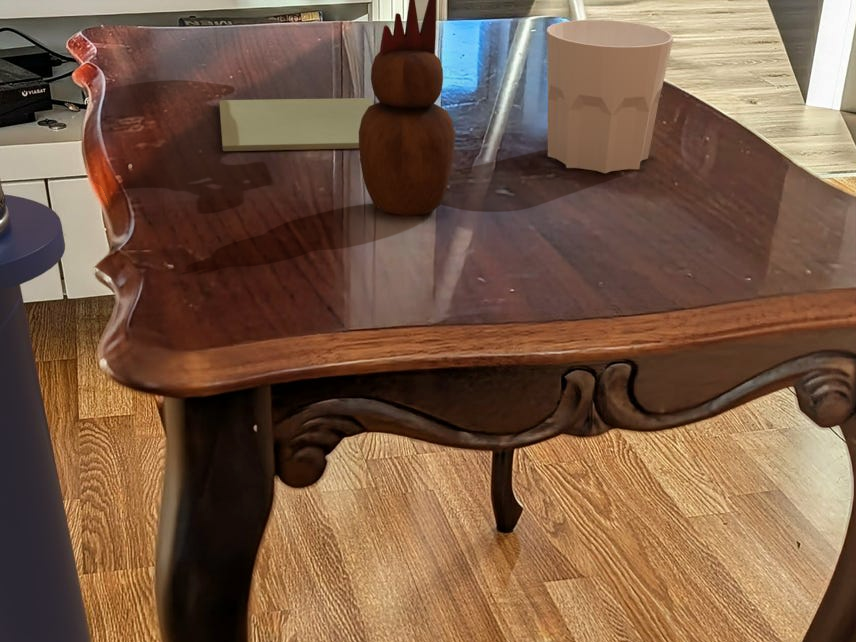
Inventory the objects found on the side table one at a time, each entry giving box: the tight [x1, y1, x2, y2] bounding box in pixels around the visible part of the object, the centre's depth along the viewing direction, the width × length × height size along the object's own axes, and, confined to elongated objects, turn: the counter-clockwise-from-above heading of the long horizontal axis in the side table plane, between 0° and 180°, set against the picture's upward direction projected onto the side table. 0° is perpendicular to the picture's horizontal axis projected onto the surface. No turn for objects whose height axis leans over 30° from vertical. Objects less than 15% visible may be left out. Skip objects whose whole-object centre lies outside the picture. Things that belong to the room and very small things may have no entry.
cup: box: [546, 19, 674, 174], centre depth 94 cm, size 10×10×10 cm
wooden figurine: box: [358, 0, 456, 217], centre depth 81 cm, size 7×6×15 cm
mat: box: [218, 97, 375, 152], centre depth 101 cm, size 14×14×1 cm
